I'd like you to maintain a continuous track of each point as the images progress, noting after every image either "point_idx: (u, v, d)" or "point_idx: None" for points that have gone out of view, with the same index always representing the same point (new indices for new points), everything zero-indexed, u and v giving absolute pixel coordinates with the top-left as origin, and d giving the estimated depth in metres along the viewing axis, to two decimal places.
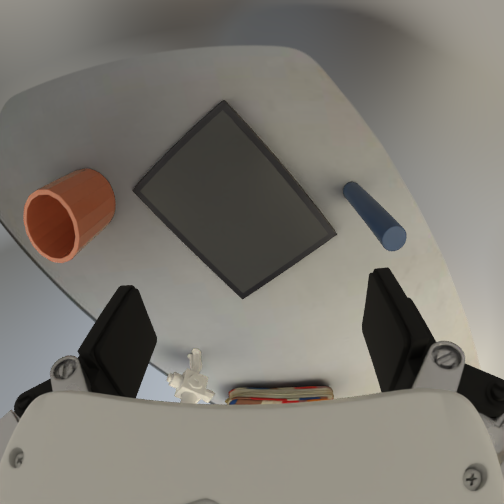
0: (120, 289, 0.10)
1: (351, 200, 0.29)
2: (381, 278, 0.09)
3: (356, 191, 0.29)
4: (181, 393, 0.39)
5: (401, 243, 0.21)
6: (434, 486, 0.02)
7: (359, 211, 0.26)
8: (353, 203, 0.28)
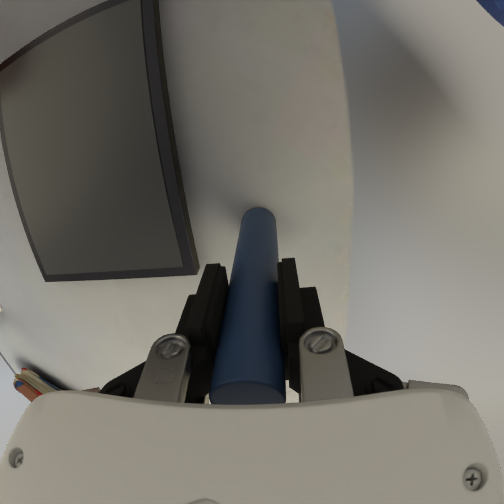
0: (209, 267, 0.11)
1: (239, 239, 0.15)
2: (283, 267, 0.11)
3: (258, 229, 0.15)
4: None
5: None
6: (434, 486, 0.02)
7: (232, 270, 0.13)
8: (237, 247, 0.15)
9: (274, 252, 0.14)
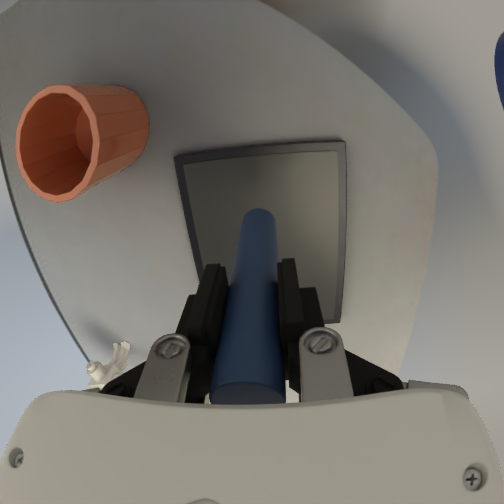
0: (209, 267, 0.11)
1: (239, 240, 0.15)
2: (282, 267, 0.11)
3: (258, 229, 0.15)
4: None
5: None
6: (434, 486, 0.02)
7: (232, 271, 0.13)
8: (237, 247, 0.15)
9: (274, 253, 0.14)
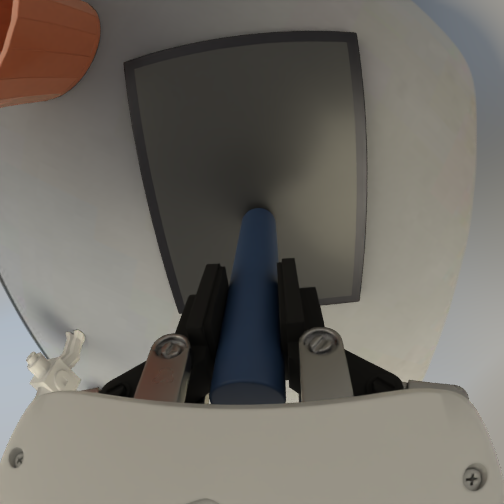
0: (209, 267, 0.11)
1: (239, 239, 0.15)
2: (282, 267, 0.11)
3: (258, 229, 0.15)
4: (39, 386, 0.20)
5: None
6: (434, 486, 0.02)
7: (232, 271, 0.13)
8: (237, 247, 0.15)
9: (274, 252, 0.14)
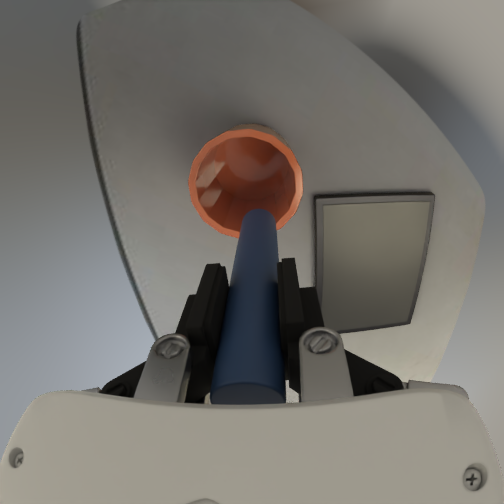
0: (209, 267, 0.11)
1: (240, 240, 0.15)
2: (282, 267, 0.11)
3: (259, 230, 0.15)
4: None
5: None
6: (434, 486, 0.02)
7: (233, 272, 0.13)
8: (238, 248, 0.15)
9: (274, 253, 0.14)
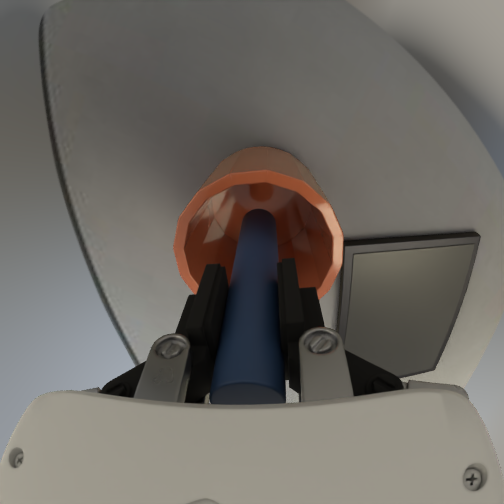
0: (209, 267, 0.11)
1: (239, 240, 0.15)
2: (282, 267, 0.11)
3: (258, 230, 0.15)
4: None
5: None
6: (433, 486, 0.02)
7: (233, 272, 0.13)
8: (237, 248, 0.15)
9: (274, 253, 0.14)
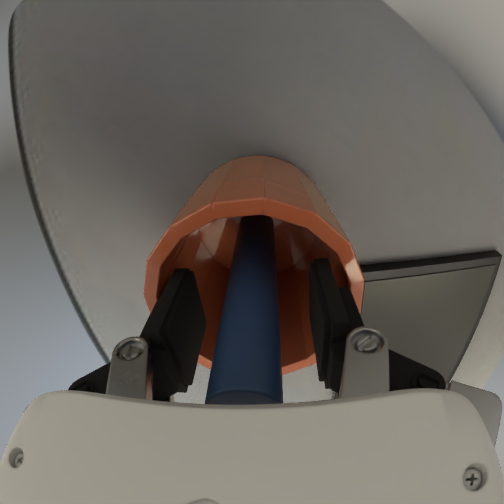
0: (177, 271, 0.11)
1: (237, 243, 0.15)
2: (317, 267, 0.11)
3: (256, 232, 0.15)
4: None
5: None
6: (434, 485, 0.02)
7: (229, 275, 0.13)
8: (235, 251, 0.15)
9: (272, 256, 0.14)
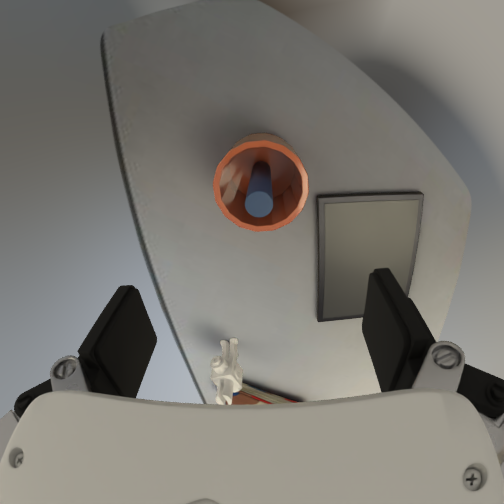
0: (120, 289, 0.10)
1: (252, 171, 0.30)
2: (381, 278, 0.09)
3: (261, 166, 0.30)
4: (221, 379, 0.41)
5: (264, 212, 0.23)
6: (434, 486, 0.02)
7: (250, 179, 0.28)
8: (251, 173, 0.30)
9: (269, 174, 0.29)
